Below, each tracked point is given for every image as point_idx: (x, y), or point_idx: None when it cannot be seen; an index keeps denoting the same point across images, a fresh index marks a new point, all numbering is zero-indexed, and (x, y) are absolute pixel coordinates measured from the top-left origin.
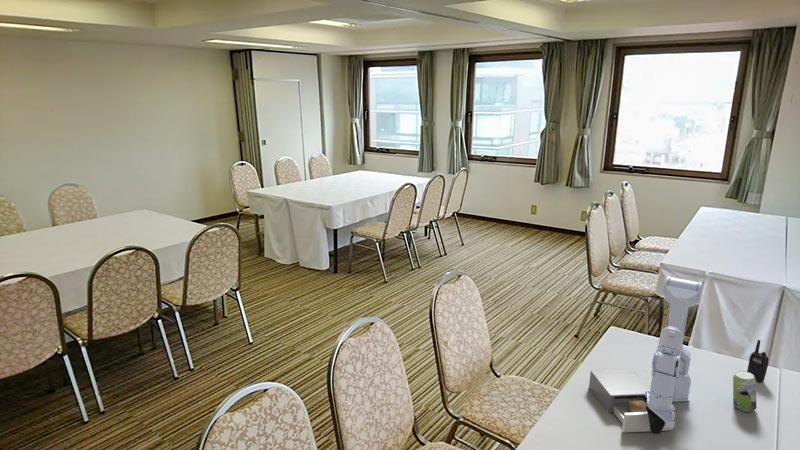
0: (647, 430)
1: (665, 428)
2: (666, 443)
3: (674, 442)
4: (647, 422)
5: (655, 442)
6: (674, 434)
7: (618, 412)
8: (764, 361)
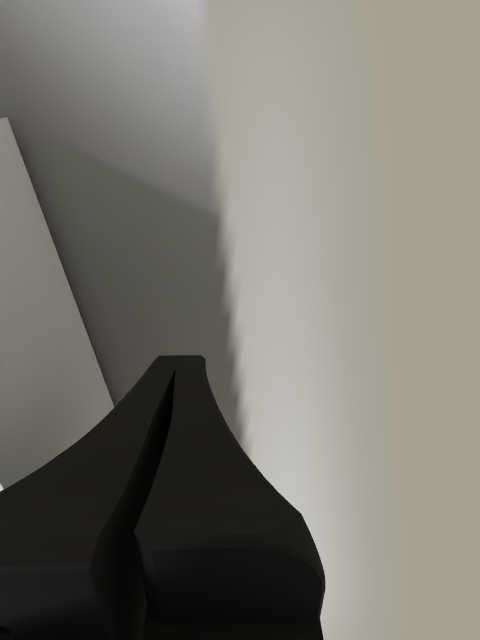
0: (94, 367)
1: (27, 208)
2: (227, 259)
3: (204, 176)
4: (72, 436)
5: (223, 341)
6: (68, 114)
7: None
8: None
